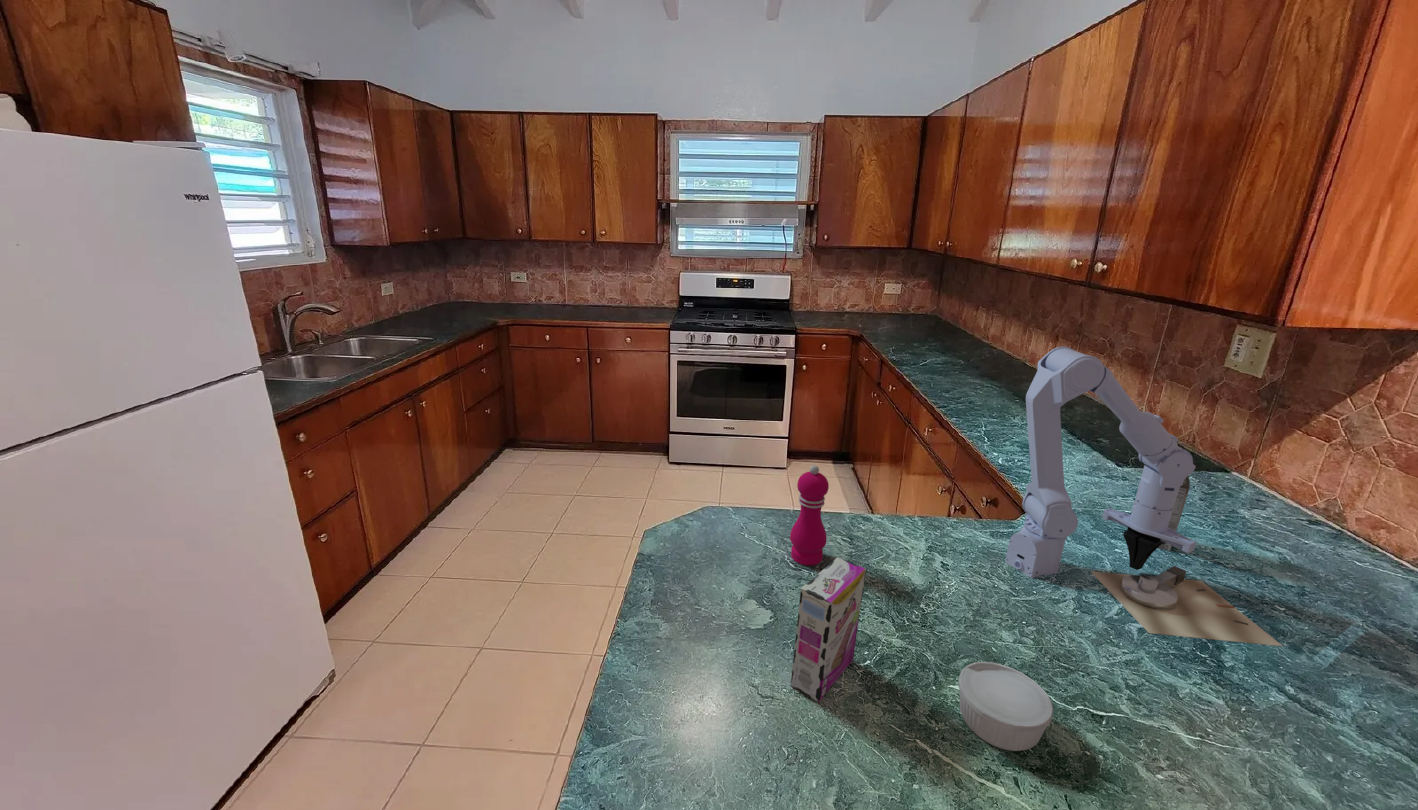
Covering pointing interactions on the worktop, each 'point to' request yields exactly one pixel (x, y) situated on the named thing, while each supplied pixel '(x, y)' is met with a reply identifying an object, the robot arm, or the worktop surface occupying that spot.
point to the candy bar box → (827, 627)
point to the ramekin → (1003, 705)
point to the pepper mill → (809, 519)
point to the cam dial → (1154, 588)
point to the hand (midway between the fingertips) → (1135, 567)
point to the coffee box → (1177, 510)
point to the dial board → (1190, 613)
